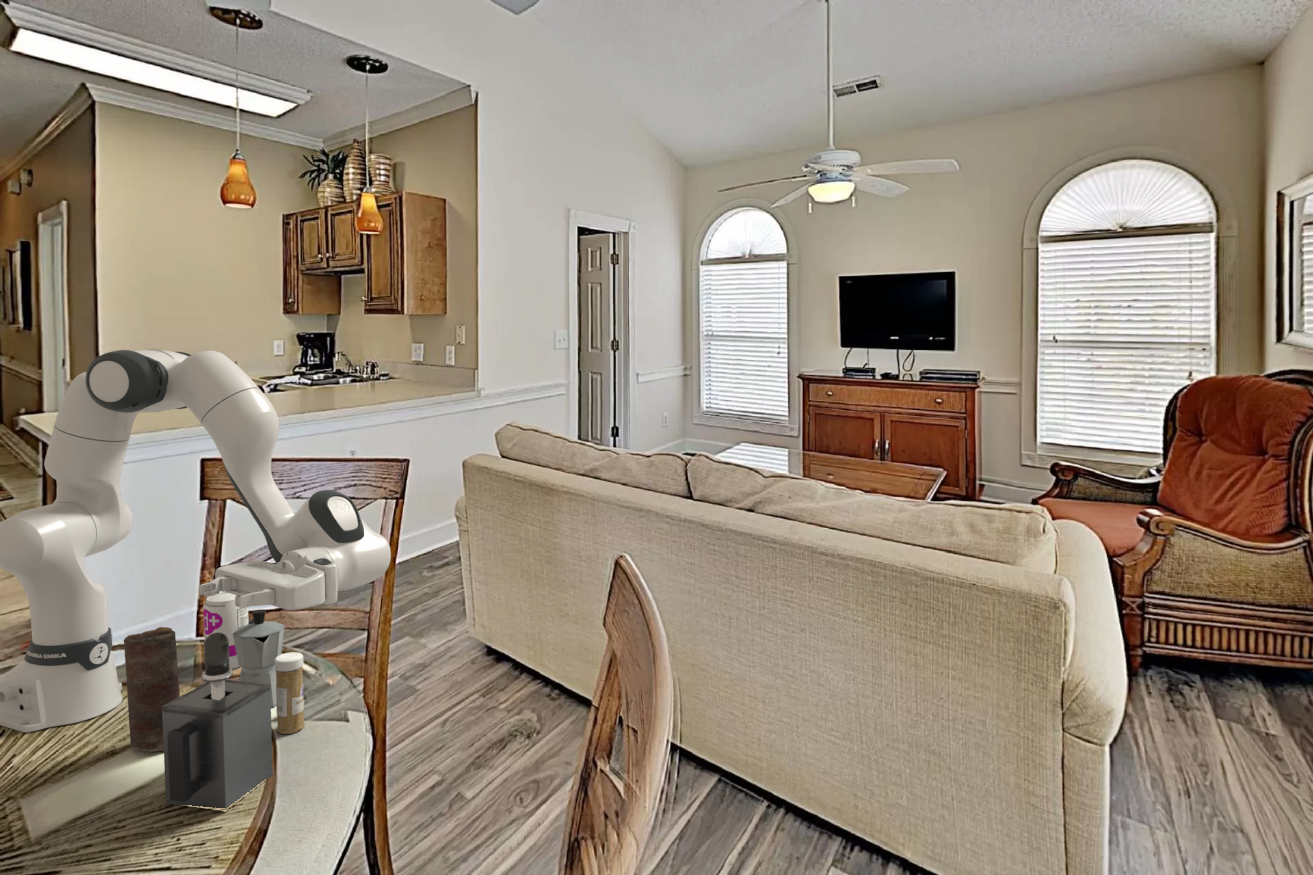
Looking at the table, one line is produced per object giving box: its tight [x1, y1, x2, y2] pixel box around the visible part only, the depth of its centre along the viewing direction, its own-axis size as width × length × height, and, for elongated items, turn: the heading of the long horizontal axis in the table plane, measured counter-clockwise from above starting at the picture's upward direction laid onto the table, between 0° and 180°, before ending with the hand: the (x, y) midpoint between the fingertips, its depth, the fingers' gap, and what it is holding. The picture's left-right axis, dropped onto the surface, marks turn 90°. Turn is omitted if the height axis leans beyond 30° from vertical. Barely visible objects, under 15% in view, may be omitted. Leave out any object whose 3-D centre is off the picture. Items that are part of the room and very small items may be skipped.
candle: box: [123, 626, 181, 753], centre depth 125 cm, size 8×7×20 cm
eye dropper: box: [201, 632, 234, 701], centre depth 112 cm, size 8×8×22 cm
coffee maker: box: [233, 609, 286, 709], centre depth 143 cm, size 15×9×18 cm, turn 34°
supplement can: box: [202, 591, 249, 670], centre depth 159 cm, size 8×8×15 cm
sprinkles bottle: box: [275, 651, 306, 735], centre depth 132 cm, size 5×5×13 cm
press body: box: [162, 679, 274, 808], centre depth 111 cm, size 10×13×15 cm
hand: (219, 596), depth 111 cm, fingers open, 8 cm apart
